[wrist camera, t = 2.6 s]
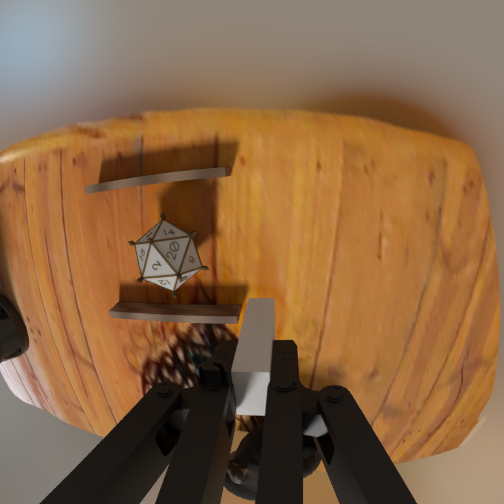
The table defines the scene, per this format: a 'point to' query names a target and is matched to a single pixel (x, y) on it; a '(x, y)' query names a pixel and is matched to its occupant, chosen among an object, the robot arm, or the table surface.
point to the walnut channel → (170, 311)
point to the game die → (167, 256)
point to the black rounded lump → (248, 462)
